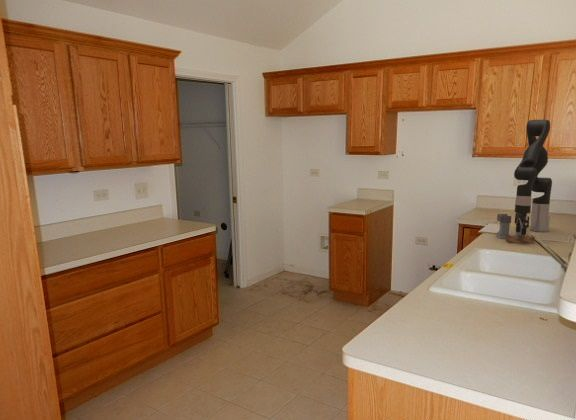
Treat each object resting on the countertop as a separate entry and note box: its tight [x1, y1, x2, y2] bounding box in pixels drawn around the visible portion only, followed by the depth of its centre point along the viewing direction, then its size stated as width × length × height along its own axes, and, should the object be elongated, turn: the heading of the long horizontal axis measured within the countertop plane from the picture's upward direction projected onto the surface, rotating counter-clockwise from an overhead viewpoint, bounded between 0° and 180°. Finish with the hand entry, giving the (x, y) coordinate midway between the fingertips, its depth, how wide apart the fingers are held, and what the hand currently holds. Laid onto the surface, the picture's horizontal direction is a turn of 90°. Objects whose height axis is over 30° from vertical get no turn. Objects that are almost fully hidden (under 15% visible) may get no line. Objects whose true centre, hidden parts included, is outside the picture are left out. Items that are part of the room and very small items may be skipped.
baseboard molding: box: [477, 221, 500, 235], centre depth 264 cm, size 31×3×12 cm
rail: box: [505, 234, 536, 245], centre depth 226 cm, size 13×4×4 cm, turn 83°
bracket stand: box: [495, 213, 522, 240], centre depth 238 cm, size 15×8×13 cm, turn 79°
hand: (520, 233), depth 225 cm, fingers open, 8 cm apart
